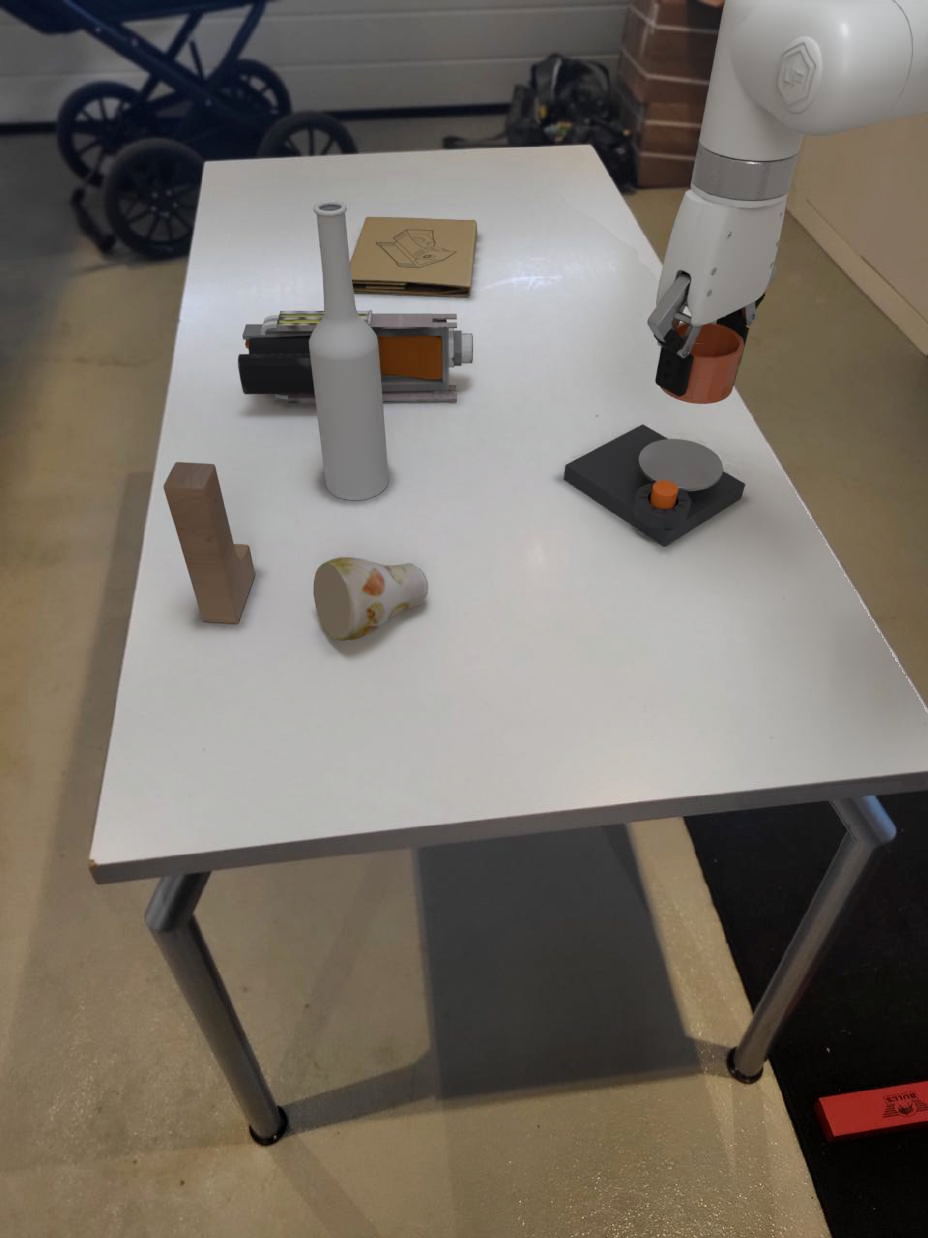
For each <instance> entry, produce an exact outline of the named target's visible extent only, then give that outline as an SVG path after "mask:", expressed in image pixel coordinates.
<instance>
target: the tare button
mask: <svg viewBox="0 0 928 1238" xmlns="http://www.w3.org/2000/svg"><path fill="white" fill-rule="evenodd" d="M677 493H678V487H677V485H676V484H674V483H673V482H671V481H667V480H661V481H657V482H655V483H654V485H653V488H652V493H651V498H650V502H651V504H652V505H653V506H655V507H658V508H663V509H668V508H672V507H673V506H674V505H675V502H676V498H677Z"/></svg>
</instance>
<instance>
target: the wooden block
mask: <svg viewBox="0 0 928 1238" xmlns="http://www.w3.org/2000/svg"><path fill="white" fill-rule="evenodd" d="M162 488H163V490H164V494H165V497H166V501H167V504H168V508H169V511H170V513H171V517H172V522H173V524H174V525H173V526H174V528H175V531H176V534H177V538H178V542H179V545H180V548H181V552H182V555H183V558H184V563H185V565H186V569H187V572H188V575H189V580H190V582H191V586H192V589H193V592H194V597H195V599H196V603H197V606H198V609H199V614H200V616H201V620H202V621H203V622H208V623H211V622H212V623H222V624H223V623H225V624H238V623H239V622H240V618H241V616H242V613H243V611H244V608H245V605H246V602H247V599H248V596H249V593H250V590H251V587H252V585H253V583H254V579H255V576H256V571H255V566H254V561H253V557H252V553H251V548H250V545H249V544H244V543H242V544H241V543H234V539H233V535H232V531H231V526H230V523H229V518H228V514H227V510H226V504H225V501H224V497H223V493H222V488H221V484H220V479H219V476H218V471H217V467H216V464H215V463H204V462H203V463H202V462H185V461H176V462H174V464H173V466H172V468H171V470H170V472H169V474H168V476H167V478H166V480H165V481H164V484H163V487H162Z"/></svg>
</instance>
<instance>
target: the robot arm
mask: <svg viewBox="0 0 928 1238" xmlns="http://www.w3.org/2000/svg"><path fill="white" fill-rule="evenodd" d="M717 36H718V37H717V41H716V46H715V51H714V57H713V63H712V68H711V74H710V79H709V83H708V84H709V85H708V90H707V95H706V100H705V104H704V110H703V111H704V112H703V116H702V123H701V127H700V133H699V139H698V143H697V149H696V154H695V158H694V159H695V160H694V165H693V169H692V176H691V181H690V189H688V190H686V191H685V192H684V195H683V198H682V200H681V203H680V205H679V208H678V211H677V214H676V217H675V220H674V222H673V226H672V229H671V232H670V236H669V239H668V244H667V247H666V251H665V256H664V260H663V264H662V267H661V273H660V277H659V281H658V287H657V293H656V298H655V308H654V310H653V311H652V312H651V314H649V316H648V318H647V321H646V322H647V326H648V327H649V329H650V330H651V332H652V334H653V337H654V339H655V340H656V341H657V345H658V347H660V351H659V357H658V362H657V367H656V373H655V379H654V382H655V384H656V385H657V386H659V388H661V387H662V388H664V389H666V390H667V391H669V392H671V393H673V394H675V395H677V396H679V397H681V396H683V395H685V394H686V391H687V387H688V382H689V378H690V373H691V368H692V364H693V359H694V355H692V354H690V351H691V349H692V347H693V345H694V343H695V341H696V339H697V337H698V335H699V333H700V331H701V328H702V326H703V325H705V324H708V323H710V322H712V323H714V322H715V323H716V324H720V325H724V326H726V327H728V328H730V329H732V330H734V331H736V332H737V333H738V334H739V335H740V336H741V337H742V338H743V342H744V349H743V353H742V357H741V361H740V365H739V367H740V366H741V362H742V360H743V359H742V358H743V354H744V351H745V347H746V343H747V339H748V335H749V331H750V326H752V325H753V324H754V322H755V320H756V318H757V313H756V312H757V311H756V310H757V309H758V307H759V306H760V304H761V303H762V301H764V299H765V297H766V291H767V290H768V289H769V287H770V286H771V284H772V282H773V281H774V279H775V277H776V276H777V274H778V271H779V268H778V267H777V265H776V264H775V262H776V257H777V254H778V249H779V245H780V240H781V235H782V231H783V226H784V225H783V224H784V217H785V211H786V204H787V199H788V196H789V192H790V188H791V185H792V180H793V177H794V173H795V169H796V166H797V161H798V159H799V155H800V150H801V146H802V143H803V139H804V136H809V137H810V136H811V137H827V136H831V135H832V136H833V135H837V134H840V133H845V132H849V131H854V130H858V129H862V128H866V127H868V126H873V125H876V124H881V123H884V122H889V121H894V120H899V119H904V118H909V117H913V116H918V115H922V114H924V113H928V0H725V1H724V4H723V9H722V13H721V19H720V24H719V30H718V35H717ZM686 307H687V308H688V311H689V312H690V313H691V315H689V314H687V313H684V311H685V308H686ZM680 323H686V324H688V325H689V327H688V329H687V331H686V333H685V335H684V337H683V339H682V337H681V336H680V335H679V333H678V332H677V331H676V329H677V327H678V325H679V324H680Z"/></svg>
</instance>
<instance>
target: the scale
mask: <svg viewBox="0 0 928 1238" xmlns="http://www.w3.org/2000/svg"><path fill="white" fill-rule="evenodd" d="M665 439H669V438H668V437H666V436H664V435H663V434H661V433H659V432H657V431H655V430H654V429H653V428H651V427H649V426H647V425H645V424H643V423H642V424H641V425H638V426H637V427H635V428H632V429H631V430H629V431H627V432H625V433H623V434H622V435H621V434H620V436H618V437H615V438H614V439H611V440H610V441H607V442H606V443H604V444H602V445H600V446H598V447H596V448H595V449H593V450H591V451H589V452H587V453H585V454H583V455H581V456H580V457H578V458H576V459H574V460H572V461H570V462H568V463H566V464H565V465H564V471H563V472H564V473H563V481H565V482H567V483H569V485H571V486H573V487H574V488H576V489H577V490H579V491H580V492H581V493H583V494H585V495H586V496H588V497H589V498H591V499H592V500H594V501H596V502H597V503H598V504H600V505H601V506H603V508H606V509H607V510H608V511H610V512H612V513H613V514H614V515H616V516H618V517H619V518H621V519H622V520H624V521H625V522H627V523H628V524H629V525H631V526H632V527H634V528H635V529H637V530H638V531H640V532H642V533H643V534H644V535H646V536H647V537H649V538H650V539H652V540H653V541H655V542H656V543H658V544H660V545H661V546H662V547H666V546H668V545H670V544H671V543H673V542H674V541H676V540H678V539H679V538H682V537H683V536H684V535H685V534H687V533H689V532H691V531H692V530H694V529H695V528H697V527H698V526H700V525H702V524H703V523H705V522H706V521H708V520H709V519H711V518H712V517H714V516H716V515H717V514H719V513H721V512H722V511H724V510H726V509H727V508H729V507H730V506H732V505H733V504H735V503H736V502H738V501H740V500H741V499H742V498H743V495H744V491H745V488H746V483H745V482H743V481H741V480H739V479H738V478H736V477H735V476H733V475H731V474H730V473H728V472H726V471H724V470H723V473H722V476H721V478H720V479H719V481H718V482H717V483H716V484H714V485H713V486H711V487H709V488H706V489H703V490H698V491H678V493H677V498H676V502H675V505H674V506H673V507H672V508H668V509H663V508H658V507H655V506H653V505H652V504H651V502H650V498H651V493H652V488H653V485H654V483H653V482H652V481H650V480H649V479H648V478H647V477H645V476H644V474H643V473H642V472H641V470H640V468H639V465H638V459H639V455H640V453H641V451H642V450H643V449H644V448H645V447H646V446H647V445H649V444H651V443H653V442H656V441H659V440H665Z"/></svg>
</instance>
